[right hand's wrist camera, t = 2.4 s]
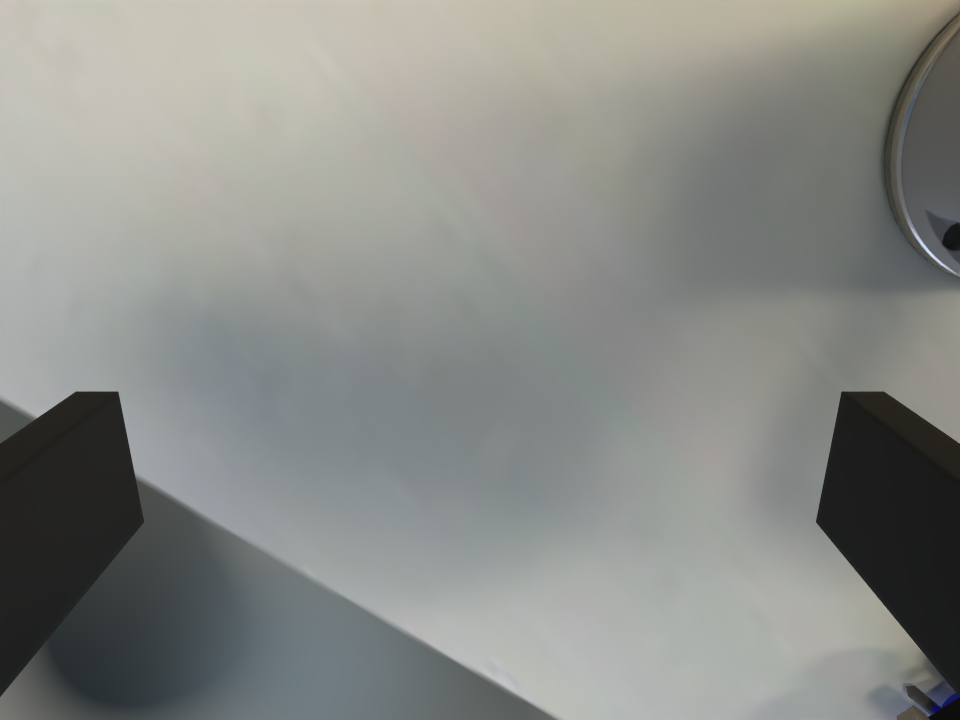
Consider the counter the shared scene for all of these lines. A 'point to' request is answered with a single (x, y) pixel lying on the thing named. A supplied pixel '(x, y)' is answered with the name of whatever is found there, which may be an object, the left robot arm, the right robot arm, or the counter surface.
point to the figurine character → (931, 707)
